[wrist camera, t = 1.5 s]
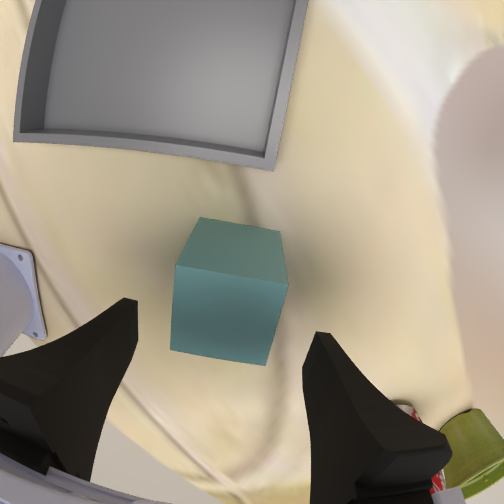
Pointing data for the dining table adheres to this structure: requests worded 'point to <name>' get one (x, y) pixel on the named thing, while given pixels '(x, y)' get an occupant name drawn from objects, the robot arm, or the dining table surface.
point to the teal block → (228, 292)
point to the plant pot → (473, 453)
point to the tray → (161, 76)
